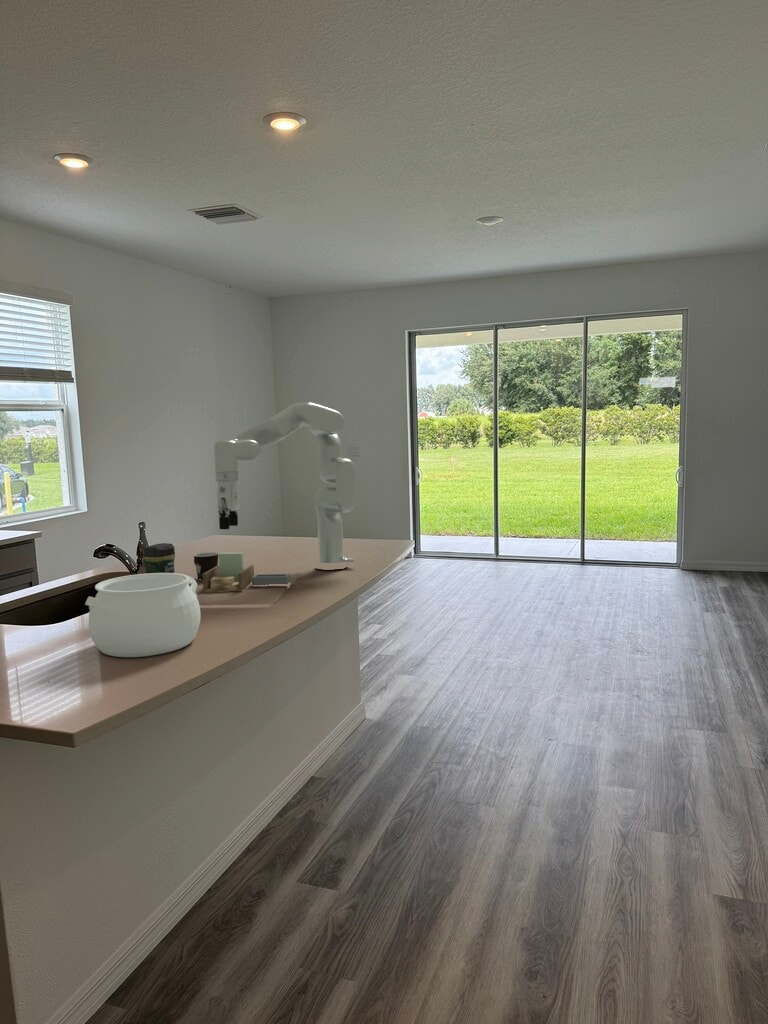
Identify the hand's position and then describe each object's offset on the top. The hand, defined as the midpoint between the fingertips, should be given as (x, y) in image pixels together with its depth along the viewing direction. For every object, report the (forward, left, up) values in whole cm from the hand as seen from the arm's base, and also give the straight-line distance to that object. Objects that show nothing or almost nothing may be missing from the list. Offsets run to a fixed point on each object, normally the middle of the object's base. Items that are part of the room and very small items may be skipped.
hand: (229, 527), depth 237 cm
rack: (0, +3, -21) cm, 21 cm away
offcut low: (0, +7, -20) cm, 21 cm away
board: (0, 0, -20) cm, 20 cm away
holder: (-14, +1, -21) cm, 25 cm away
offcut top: (+1, +7, -18) cm, 19 cm away
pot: (+2, +65, -21) cm, 69 cm away
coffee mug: (+13, -12, -21) cm, 27 cm away
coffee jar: (+17, +19, -21) cm, 33 cm away
